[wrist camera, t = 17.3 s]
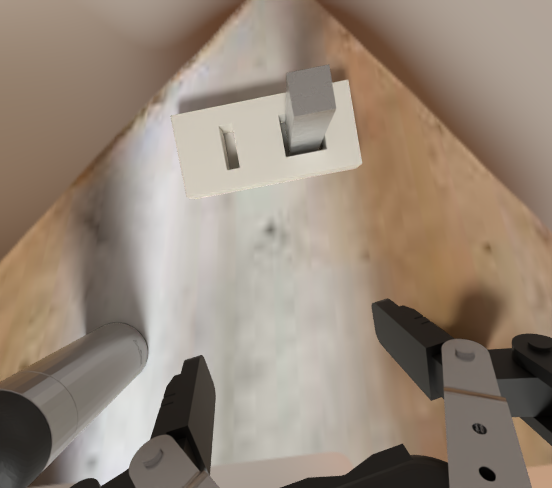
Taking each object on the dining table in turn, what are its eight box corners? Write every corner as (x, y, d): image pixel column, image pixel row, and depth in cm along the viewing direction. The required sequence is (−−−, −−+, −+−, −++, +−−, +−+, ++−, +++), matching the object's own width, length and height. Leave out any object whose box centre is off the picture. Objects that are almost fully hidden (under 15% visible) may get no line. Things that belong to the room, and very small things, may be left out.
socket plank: (193, 199, 40) (186, 197, 37) (178, 124, 39) (170, 115, 36) (356, 168, 39) (362, 163, 36) (343, 91, 39) (348, 79, 36)
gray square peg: (289, 156, 39) (293, 116, 25) (285, 128, 39) (286, 73, 25) (317, 151, 39) (336, 108, 25) (312, 123, 39) (329, 64, 25)
